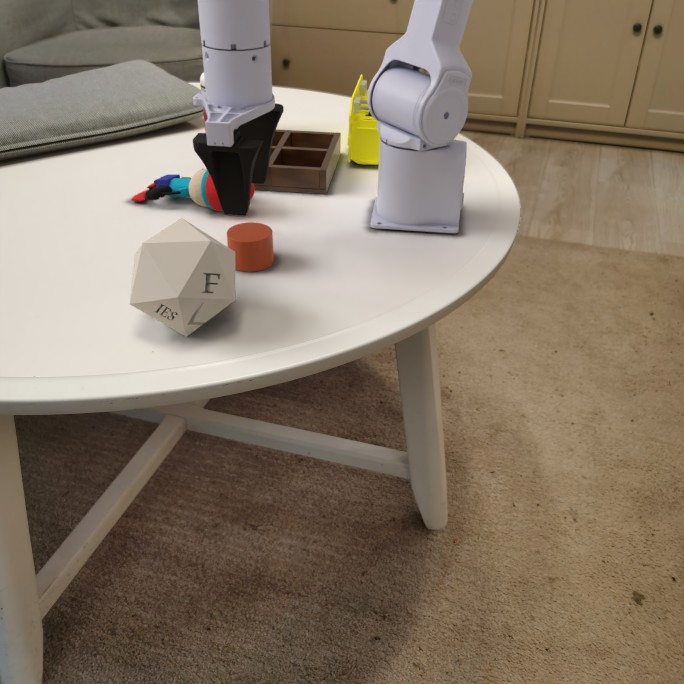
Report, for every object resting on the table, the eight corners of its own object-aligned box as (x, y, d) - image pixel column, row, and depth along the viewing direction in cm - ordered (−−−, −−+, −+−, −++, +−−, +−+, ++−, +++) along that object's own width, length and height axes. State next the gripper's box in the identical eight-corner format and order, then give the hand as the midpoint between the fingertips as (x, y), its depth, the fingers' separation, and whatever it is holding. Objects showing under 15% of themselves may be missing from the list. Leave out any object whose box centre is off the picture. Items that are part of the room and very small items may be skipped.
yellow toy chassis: (357, 129, 105) (358, 70, 100) (395, 131, 105) (399, 72, 100) (344, 168, 92) (345, 102, 87) (388, 170, 91) (391, 104, 87)
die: (125, 354, 58) (176, 285, 51) (102, 264, 61) (147, 189, 55) (215, 352, 64) (271, 290, 57) (190, 270, 67) (240, 203, 61)
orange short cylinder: (277, 252, 72) (276, 223, 70) (268, 273, 68) (267, 243, 66) (235, 249, 72) (232, 220, 70) (224, 270, 69) (221, 240, 67)
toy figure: (130, 217, 82) (238, 220, 76) (120, 174, 80) (230, 174, 73) (170, 199, 88) (274, 201, 82) (162, 159, 86) (267, 157, 79)
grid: (340, 154, 96) (340, 132, 94) (326, 194, 85) (326, 170, 83) (239, 148, 97) (237, 127, 96) (211, 187, 86) (209, 163, 84)
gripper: (213, 25, 65) (224, 167, 73) (160, 61, 53) (180, 226, 61) (288, 28, 65) (291, 171, 72) (252, 65, 53) (261, 232, 60)
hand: (245, 197), depth 67 cm, fingers open, 7 cm apart
